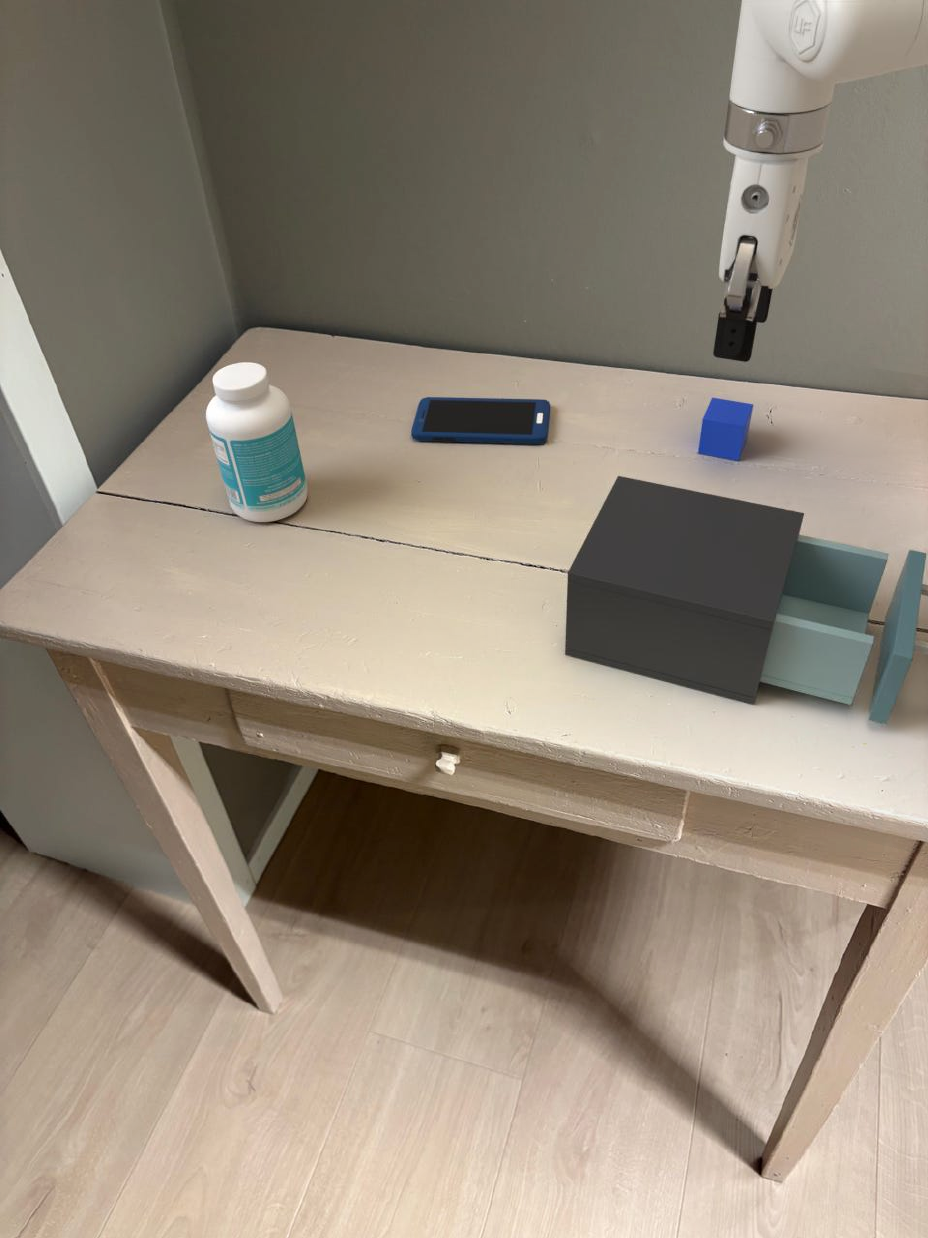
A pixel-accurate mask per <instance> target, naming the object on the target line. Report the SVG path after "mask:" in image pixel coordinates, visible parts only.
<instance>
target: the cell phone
mask: <svg viewBox="0 0 928 1238" xmlns="http://www.w3.org/2000/svg"><path fill="white" fill-rule="evenodd" d="M551 407H552V406H551V403H550V401H549V400H547V399H542V398H541V399H540V398H539V399H538V398H494V397H493V398H492V397H491V398H488V397H447V396H446V397H445V396H426V397H423V398H421V399H420V400H419V402H418V405H417V409H416V413H415V415H414V419H413V422H412V425H411V429H410V437H411V438H412V439H413V440H415V441H419V442H443V443H444V442H445V443H447V442H448V443H479V444H482V443H483V444H484V443H485V444H515V445H516V444H518V445H519V444H522V445H523V444H524V445H542V444H545V443H546V442H547V439H548V437H549V428H550V427H549V426H550V416H551Z"/></svg>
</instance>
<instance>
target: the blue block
mask: <svg viewBox="0 0 928 1238" xmlns="http://www.w3.org/2000/svg"><path fill="white" fill-rule="evenodd" d="M753 411H754V404H753V403H748V402H743V401H736V400H729V399H725V398H718V397H711V399H710V401H709V404H708V406H707V407H706V409H705V412H704V415H703V417H702V419H701V420H702V421H701V428H700V435H699V441H698V448H697V454H698V455H704V456H710V457H715V458H720V459H726V460H730V461H736V462H739V461H740V460H741V457H742V454H743V452H744V449H745V446H746V444H747V441H748V437H749V431H750V426H751V422H752V416H753Z"/></svg>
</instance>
